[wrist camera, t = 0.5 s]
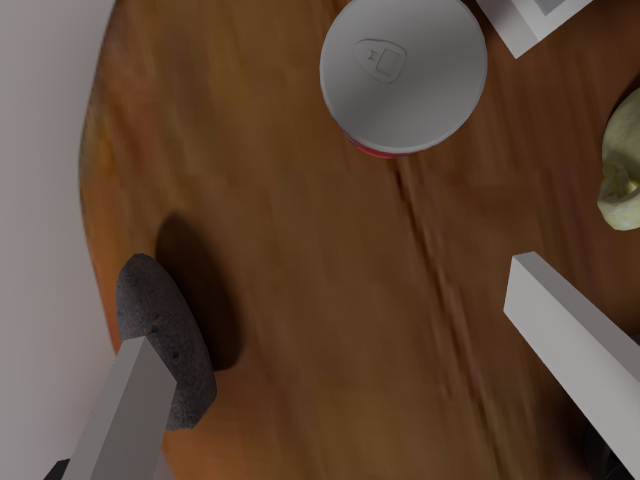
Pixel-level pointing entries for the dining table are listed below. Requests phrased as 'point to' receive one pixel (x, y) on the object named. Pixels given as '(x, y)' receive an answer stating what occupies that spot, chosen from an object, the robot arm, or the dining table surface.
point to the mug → (622, 166)
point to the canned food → (402, 73)
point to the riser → (528, 19)
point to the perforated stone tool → (167, 336)
